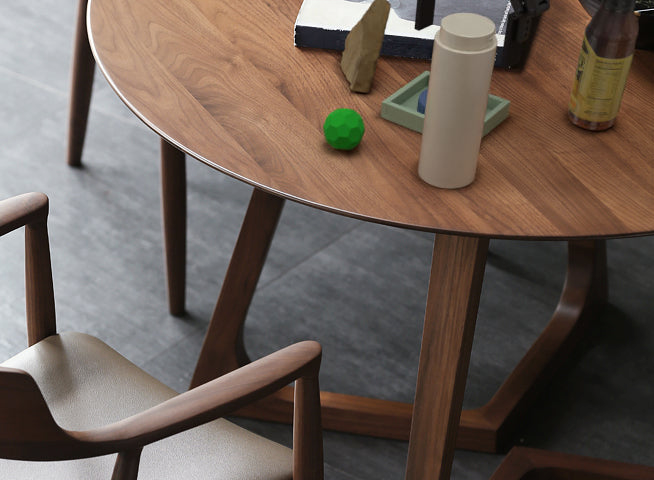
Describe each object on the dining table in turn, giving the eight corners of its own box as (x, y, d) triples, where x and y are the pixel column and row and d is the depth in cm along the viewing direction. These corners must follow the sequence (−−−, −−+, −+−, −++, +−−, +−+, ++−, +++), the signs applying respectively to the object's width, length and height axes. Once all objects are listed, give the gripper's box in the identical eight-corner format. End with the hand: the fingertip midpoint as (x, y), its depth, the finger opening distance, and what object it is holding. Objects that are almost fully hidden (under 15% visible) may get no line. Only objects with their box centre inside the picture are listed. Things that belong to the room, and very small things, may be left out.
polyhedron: (354, 161, 129) (357, 126, 126) (316, 151, 130) (318, 116, 127) (368, 141, 132) (371, 106, 129) (331, 132, 134) (333, 97, 131)
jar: (485, 170, 128) (511, 22, 116) (456, 195, 124) (479, 45, 112) (436, 151, 131) (457, 4, 118) (406, 175, 127) (424, 26, 114)
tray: (508, 116, 138) (511, 101, 136) (466, 151, 131) (468, 135, 130) (424, 85, 143) (426, 70, 141) (380, 117, 137) (381, 101, 135)
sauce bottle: (575, 103, 140) (610, -48, 127) (622, 117, 138) (662, -36, 125) (557, 125, 136) (591, -29, 123) (605, 139, 134) (645, -16, 120)
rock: (385, 87, 137) (419, 47, 143) (349, 30, 134) (385, -9, 139) (326, 111, 146) (360, 72, 151) (291, 58, 142) (327, 19, 147)
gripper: (381, -158, 122) (370, 20, 137) (562, -99, 109) (528, 91, 123) (425, -171, 126) (410, 3, 141) (605, -116, 113) (567, 71, 127)
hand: (465, 45), depth 132 cm, fingers open, 13 cm apart
